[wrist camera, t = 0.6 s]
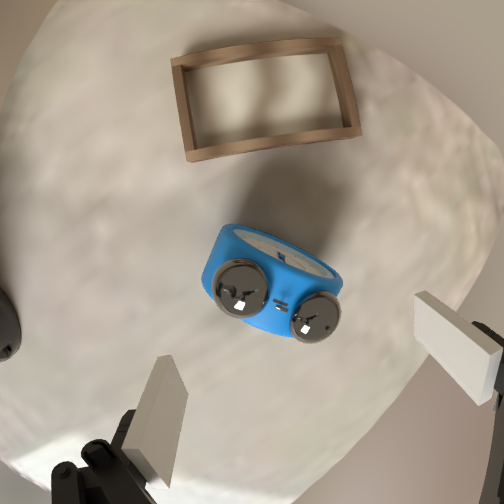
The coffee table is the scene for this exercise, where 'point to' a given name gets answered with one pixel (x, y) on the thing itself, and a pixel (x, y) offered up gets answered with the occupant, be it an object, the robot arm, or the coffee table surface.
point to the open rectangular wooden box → (264, 97)
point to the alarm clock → (272, 285)
